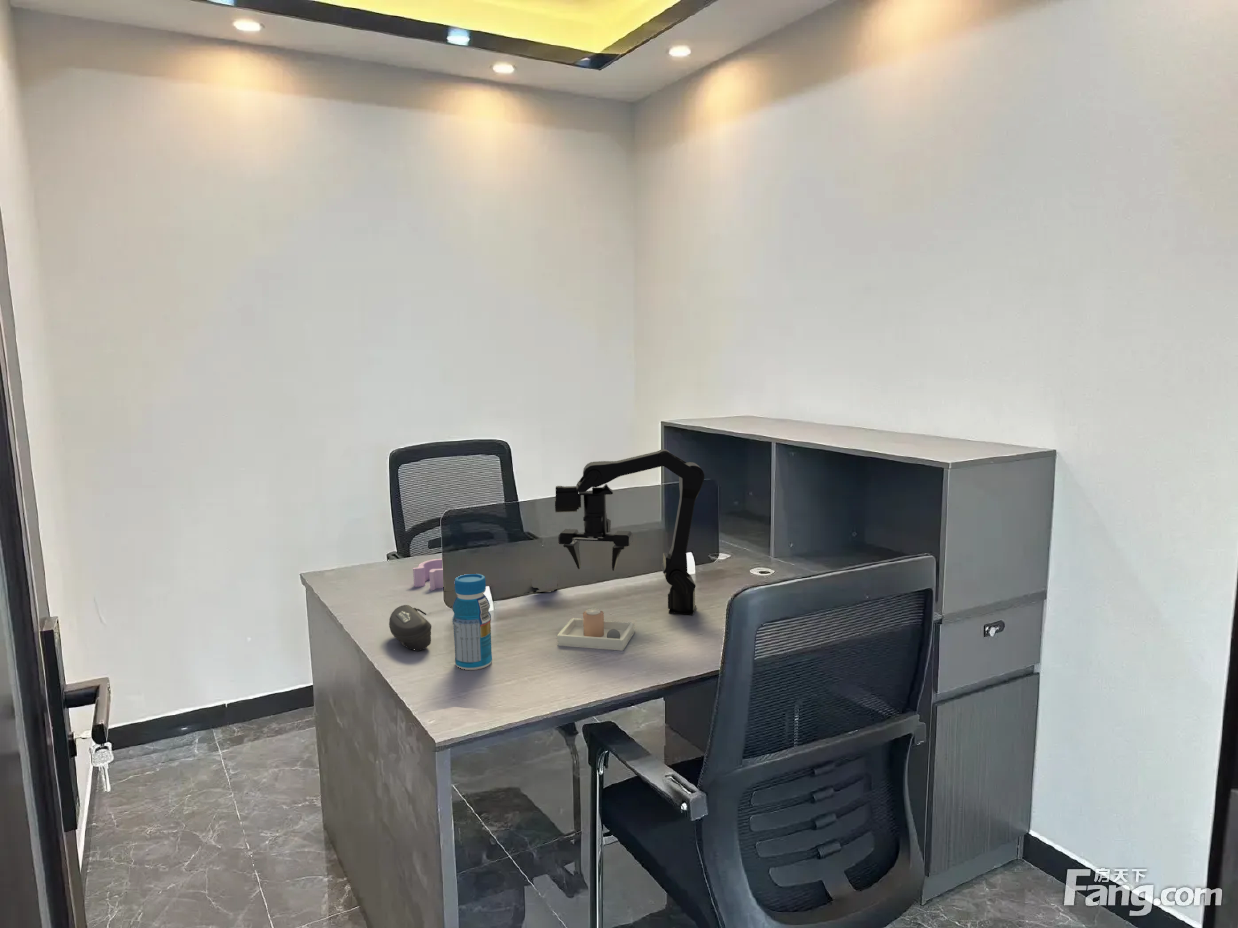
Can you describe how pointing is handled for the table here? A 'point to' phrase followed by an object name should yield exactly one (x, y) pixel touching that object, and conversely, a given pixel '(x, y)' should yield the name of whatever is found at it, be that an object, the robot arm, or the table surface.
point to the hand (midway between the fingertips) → (596, 569)
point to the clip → (429, 574)
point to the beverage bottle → (471, 623)
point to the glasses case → (410, 627)
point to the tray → (576, 638)
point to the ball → (613, 634)
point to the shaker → (593, 623)
